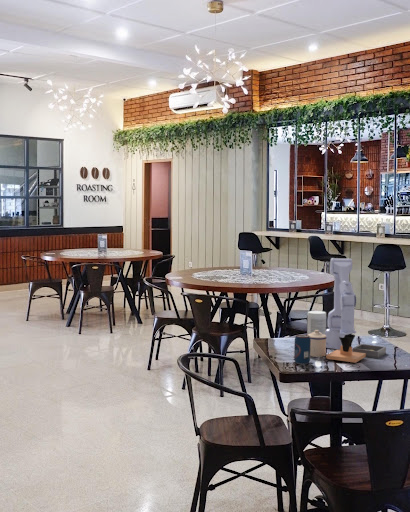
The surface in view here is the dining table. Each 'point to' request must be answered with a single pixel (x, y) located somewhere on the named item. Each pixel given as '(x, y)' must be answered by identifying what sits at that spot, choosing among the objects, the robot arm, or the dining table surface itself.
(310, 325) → the supplement tub
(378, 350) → the parts tub
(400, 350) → the dining table surface
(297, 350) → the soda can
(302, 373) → the dining table surface
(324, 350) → the teacup with lid
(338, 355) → the lid
